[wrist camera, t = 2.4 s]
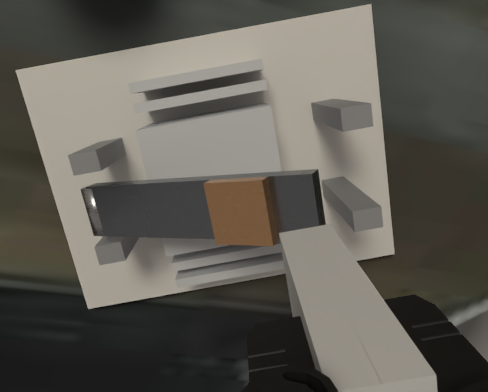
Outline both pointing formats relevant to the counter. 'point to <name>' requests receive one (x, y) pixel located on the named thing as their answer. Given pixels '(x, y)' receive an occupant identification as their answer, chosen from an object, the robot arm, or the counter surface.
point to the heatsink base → (288, 92)
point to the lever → (208, 207)
